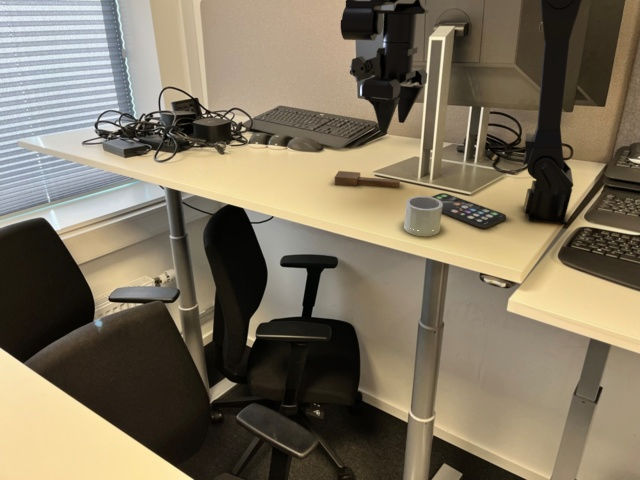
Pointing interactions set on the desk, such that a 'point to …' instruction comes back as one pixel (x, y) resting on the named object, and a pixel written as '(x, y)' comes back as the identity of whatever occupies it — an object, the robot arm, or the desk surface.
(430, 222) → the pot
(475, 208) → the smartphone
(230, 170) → the desk surface
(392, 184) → the brown block with handle
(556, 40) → the robot arm
